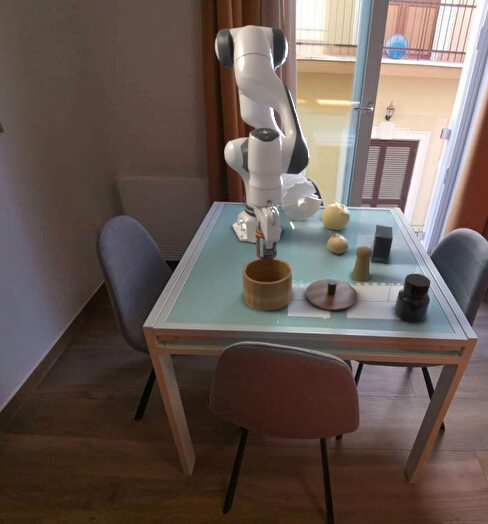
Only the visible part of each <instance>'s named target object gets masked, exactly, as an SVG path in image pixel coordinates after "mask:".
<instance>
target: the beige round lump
mask: <svg viewBox="0 0 488 524" xmlns="http://www.w3.org/2000/svg"><path fill="white" fill-rule="evenodd" d="M350 217H351V214H350V211H349V210H348V208H347V207H346V206H345V205H344V204H342V203H339V202H333V203H331V204H329V205H327V206H326V207H325V208H324V209H323V211H322V214H321V222H322V224H323V227H324V228H326V229H328V230H332V231H333V230H334V231H340V230H344V228H345V227H347V225H348V223H349V221H350Z"/></svg>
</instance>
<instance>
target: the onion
mask: <svg viewBox="0 0 488 524" xmlns="http://www.w3.org/2000/svg"><path fill="white" fill-rule="evenodd" d="M326 245H327V249H328V250H329V252H330V253H333V254H336V255H342V254H344V253H345V252H347V251H348V249H349V242H348V240H347V239H346V238H345V237H344V236H343V235H341V234H340V233H333V234H332V236H331V237H330V238H329V239H328V240H327V244H326Z"/></svg>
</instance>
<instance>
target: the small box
mask: <svg viewBox="0 0 488 524" xmlns="http://www.w3.org/2000/svg"><path fill="white" fill-rule="evenodd" d="M393 235H394V234H393V227H392V226H386V225H380V224H376V225H375V232H374V237H373V241H372V247H371V250H372V256H371V257H370V262H375V263H381V264H388V263H389V260H390V255H391V249H392V244H393V241H394V240H393V239H394V238H393V237H394V236H393Z"/></svg>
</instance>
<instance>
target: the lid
mask: <svg viewBox="0 0 488 524" xmlns="http://www.w3.org/2000/svg"><path fill="white" fill-rule="evenodd" d="M305 296H306V299H307V300H308V301H309V302H310V303H311V304H312V305H313V306H315V307H317V308H319V309H321V310H322V309H323V310H327V311H343V310H346V309H349V308H350V307H352V306H353V305H355V303H356V302H357V298H358V294H357V292H356V290H355V288H353V287H352V286H351V285H350V284H349V283H347V282H344V281H341V280H338V279H333V278H332V279H331V278H324V279H319V280H316V281H313V282H312V283H310V284H309V285H308V286H307V288H306V291H305Z"/></svg>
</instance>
